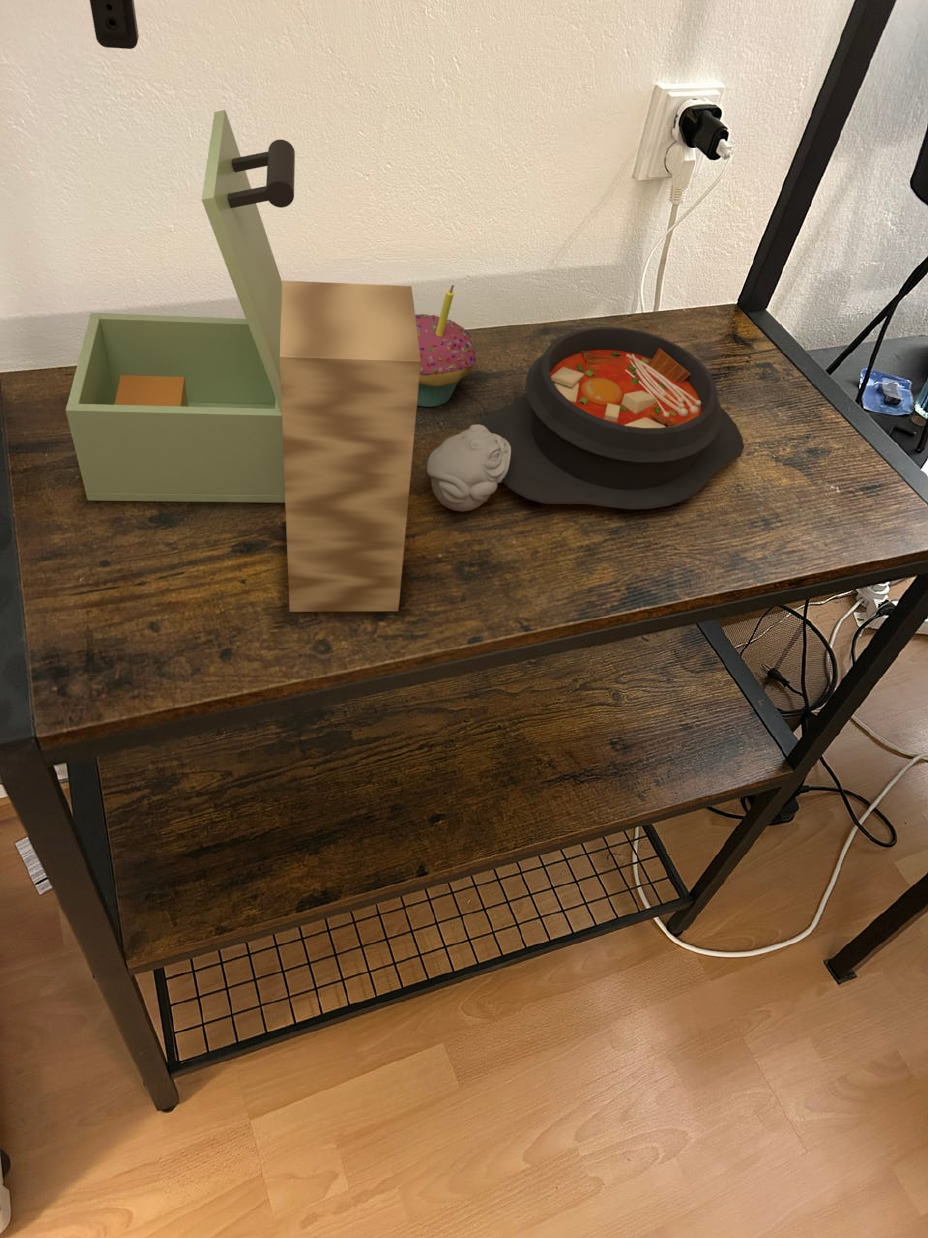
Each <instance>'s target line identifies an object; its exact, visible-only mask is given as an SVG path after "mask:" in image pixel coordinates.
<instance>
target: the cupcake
mask: <svg viewBox="0 0 928 1238" xmlns="http://www.w3.org/2000/svg"><path fill="white" fill-rule="evenodd" d="M454 288H455V284H451V286H450V289H447V290H446V291H445V295H444V298H443V303H442V307H441V310H440V314H439V315H440V316H439V315H435V314H427V313H425V314H423V313H420V314H415V318H416V326H417V334H418V342H419V350H420V358H421V366H420V377H419V389H418V400H417V407H424V408H432V407H433V408H434V407H439V406H442V405H445V404H446V403H447V402H448V401H449V400H450V399H451V397H452V395H453V393H454V391H455V389H456V387H457V386H458V384H459V382H460V381H461V380H462V379H464V378H465V377H467V376H469V375H470V373H471V371H472V368H473V366H474V365H475V363H476V361H477V353H476V349H475V345H474V340H473V338H472V335H471V334H470V333H469V332H468V331H467V330H466V328H465V327H463V326H462V325H459V324H458V323H456V322H455V321H453V320H451V319H448V317H449V312H450V310H451V306H452V303H453V298H454V296H455V295H454V294H455V293H454V291H453V290H454Z"/></svg>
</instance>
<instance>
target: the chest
mask: <svg viewBox="0 0 928 1238" xmlns="http://www.w3.org/2000/svg"><path fill="white" fill-rule="evenodd" d="M84 334H85V335H84V339H83V342H82V346H81V349H80V354H79V356H78V357H79V358H78V361H77V366H76V369H75V373H74V377H73V381H72V385H71V389H70V393H69V396H68V400H67V404H66V407H65V414H66V418H67V422H68V426H69V430H70V434H71V439H72V442H73V447H74V450H75V455H76V459H77V463H78V466H79V471H80V474H81V475H80V476H81V480H82V483H83V487H84V492H85V495H86V499H87V501H89V502H90V501H91V502H92V501H95V502H96V501H97V502H98V501H99V502H100V501H101V502H177V503H178V502H184V503H190V502H191V503H193V502H194V503H266V504H267V503H269V504H270V503H272V504H274V503H279V504H282V503H283V504H285V480H284V454H283V428H282V411H280V408H279V406H278V403H277V400H276V398H275V395H274V392H273V390H272V387H271V384H270V382H269V379H268V376H267V374H266V371H265V368H264V366H263V363H262V360H261V357H260V355H259V352H258V349H257V347H256V344H255V341H254V339H253V336H252V333H251V331H250V328H249V325H248V323H247V320H246V318H236V317H234V318H233V317H208V316H185V315H184V316H183V315H160V314H159V315H158V314H157V315H156V314H134V313H133V314H132V313H107V312H106V313H105V312H90V315H89V318H88V323H87V326H86V330H85V333H84ZM121 375H133V376H168V377H184V378H185V384H186V392H187V400H188V407H182V406H143V405H115V400H116V395H117V390H118V385H119V380H120V376H121Z"/></svg>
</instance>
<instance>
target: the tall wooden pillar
mask: <svg viewBox="0 0 928 1238" xmlns="http://www.w3.org/2000/svg"><path fill="white" fill-rule="evenodd" d="M414 302H415V301H414V295H413V288H412V286H411V285H391V284H371V283H370V284H369V283H348V282H347V283H346V282H326V281H325V282H324V281H304V280H303V281H302V280H282V302H281V332H280V377H281V403H282V428H283V454H284V480H285V503H284V504H285V527H286V550H287V551H286V552H287V553H286V555H287V579H288V581H287V582H288V602H289V603H288V606H289V607H288V608H289V612H290V613H308V612H309V613H324V612H325V613H326V612H327V613H328V612H329V613H334V612H335V613H336V612H337V613H338V612H339V613H340V612H341V613H342V612H345V613H346V612H347V613H350V612H354V613H355V612H399V608H400V599H401V598H400V597H401V589H402V588H401V587H402V576H403V566H404V555H405V543H406V532H407V523H408V512H409V511H408V508H409V500H410V499H409V497H410V487H411V478H412V477H411V475H412V466H413V453H414V443H415V432H416V422H417V421H416V419H417V411H418V410H417V409H418V405H417V400H418V389H419V377H420V366H421V358H420V350H419V342H418V334H417V326H416V318H415V315H416V311H415V303H414Z"/></svg>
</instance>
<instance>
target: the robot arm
mask: <svg viewBox="0 0 928 1238" xmlns="http://www.w3.org/2000/svg"><path fill="white" fill-rule="evenodd" d="M89 5H90V11H91V16H92V23H93V29H94V34H95V39H96V41H97V43H99V45H100V46H101V47H104V48H108V49H109V48H110V49H123V50H124V49H126V50H133V49H134V48H136V47H137V45H138V42H139V39H140V38H139V36H140V35H139V28H138V21H137V15H136V6H135V0H89Z"/></svg>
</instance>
